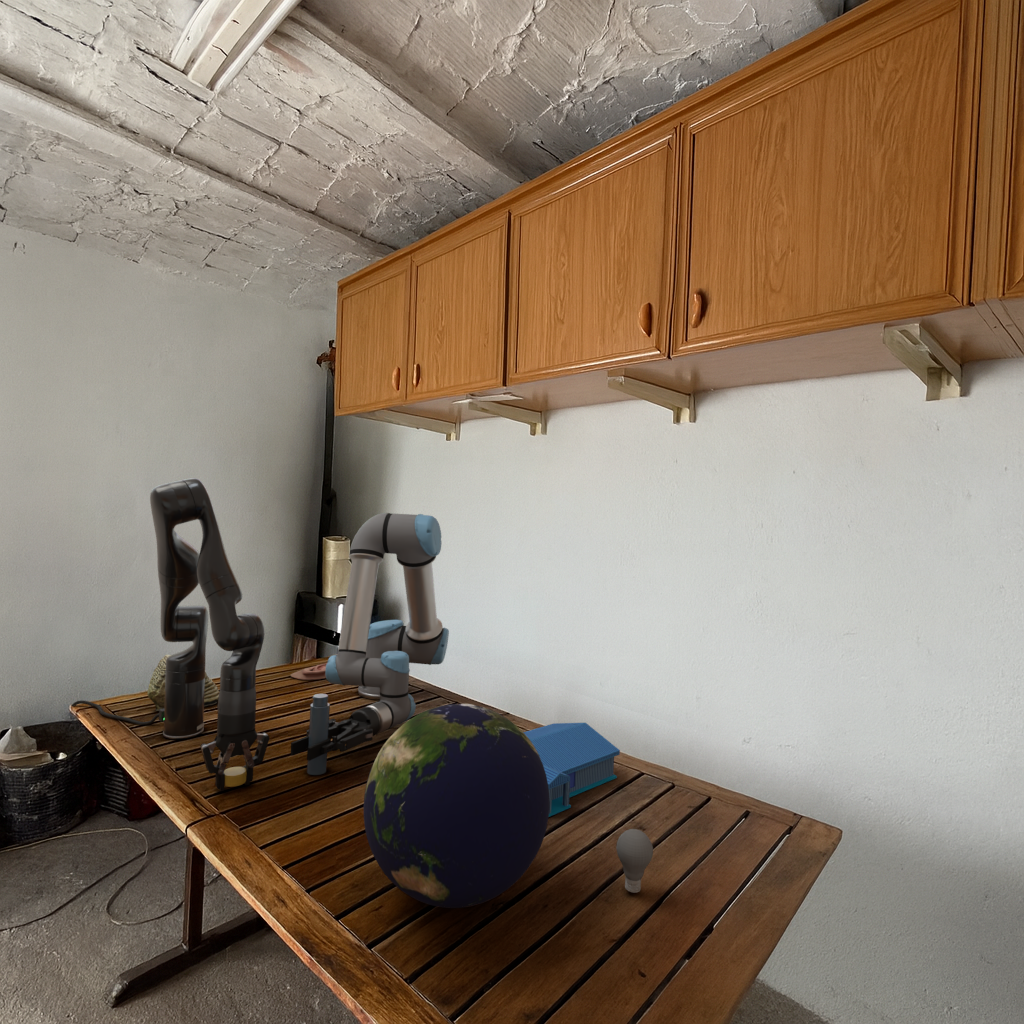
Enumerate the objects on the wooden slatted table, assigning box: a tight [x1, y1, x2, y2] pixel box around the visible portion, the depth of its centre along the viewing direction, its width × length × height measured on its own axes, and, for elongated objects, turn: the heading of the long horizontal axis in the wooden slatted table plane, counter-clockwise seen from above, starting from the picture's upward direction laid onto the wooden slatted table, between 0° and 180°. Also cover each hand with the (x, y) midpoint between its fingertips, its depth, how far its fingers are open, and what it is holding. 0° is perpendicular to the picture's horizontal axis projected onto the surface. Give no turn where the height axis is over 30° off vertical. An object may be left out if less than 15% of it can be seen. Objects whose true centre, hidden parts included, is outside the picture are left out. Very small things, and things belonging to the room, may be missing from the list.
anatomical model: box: [290, 662, 327, 681], centre depth 221 cm, size 13×4×12 cm
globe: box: [363, 703, 549, 909], centre depth 103 cm, size 30×30×30 cm
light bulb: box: [615, 828, 654, 894], centre depth 106 cm, size 6×6×10 cm
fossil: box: [147, 654, 220, 711], centre depth 185 cm, size 9×18×15 cm, turn 132°
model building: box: [523, 722, 621, 818], centre depth 143 cm, size 39×24×10 cm, turn 132°
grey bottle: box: [306, 693, 331, 776], centre depth 146 cm, size 4×4×18 cm
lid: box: [224, 766, 247, 788], centre depth 136 cm, size 5×5×2 cm
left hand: (234, 786), depth 136 cm, fingers closed on lid, 4 cm apart
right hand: (300, 751), depth 141 cm, fingers closed on grey bottle, 4 cm apart
